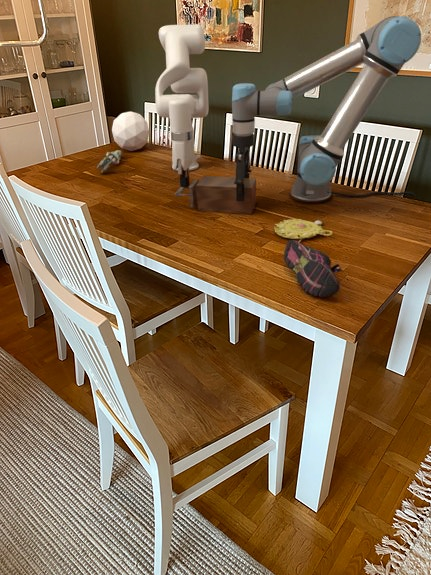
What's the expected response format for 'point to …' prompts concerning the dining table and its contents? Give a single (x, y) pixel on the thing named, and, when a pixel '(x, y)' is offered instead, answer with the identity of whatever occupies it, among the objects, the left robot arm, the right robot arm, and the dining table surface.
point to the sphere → (130, 131)
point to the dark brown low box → (225, 195)
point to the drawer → (192, 192)
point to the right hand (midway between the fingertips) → (242, 195)
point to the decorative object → (300, 229)
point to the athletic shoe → (312, 269)
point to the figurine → (110, 160)
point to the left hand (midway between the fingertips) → (185, 186)
